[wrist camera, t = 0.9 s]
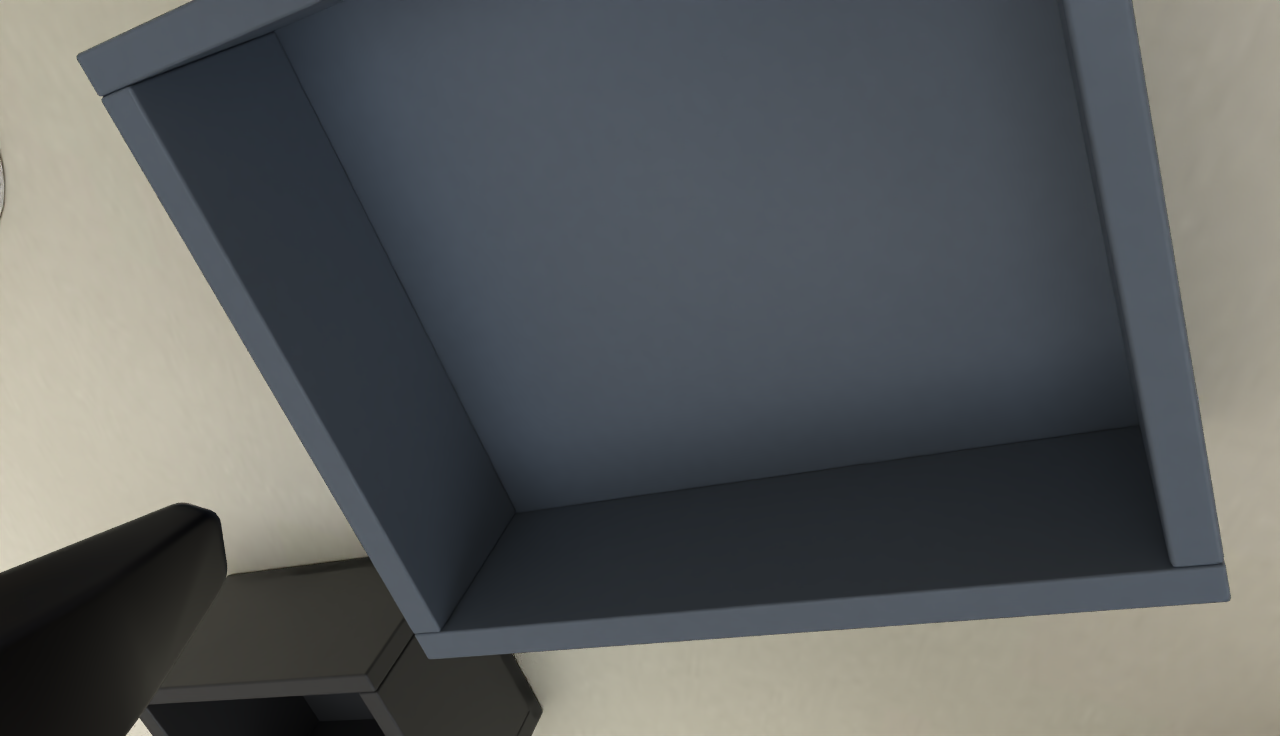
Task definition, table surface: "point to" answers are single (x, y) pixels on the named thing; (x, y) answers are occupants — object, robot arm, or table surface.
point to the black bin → (329, 667)
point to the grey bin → (698, 302)
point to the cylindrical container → (1, 187)
